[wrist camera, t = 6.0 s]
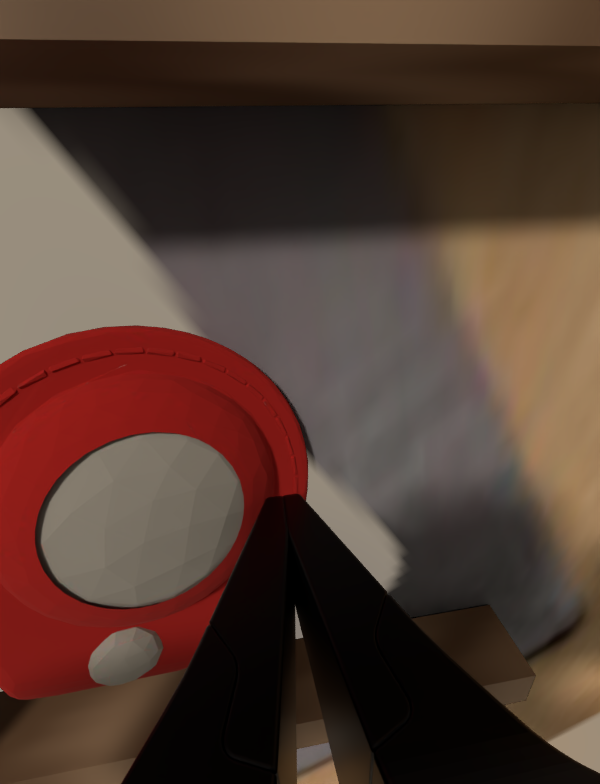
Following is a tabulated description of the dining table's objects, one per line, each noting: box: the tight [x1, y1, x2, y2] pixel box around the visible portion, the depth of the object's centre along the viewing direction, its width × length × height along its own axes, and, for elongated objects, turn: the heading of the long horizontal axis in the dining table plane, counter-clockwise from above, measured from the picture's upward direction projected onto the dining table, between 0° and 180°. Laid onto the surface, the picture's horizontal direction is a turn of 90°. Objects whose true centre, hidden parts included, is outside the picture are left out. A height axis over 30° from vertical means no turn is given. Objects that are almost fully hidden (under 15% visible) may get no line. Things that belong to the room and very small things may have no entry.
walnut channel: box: [0, 0, 600, 784], centre depth 9 cm, size 18×19×2 cm
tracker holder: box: [0, 326, 308, 700], centre depth 8 cm, size 12×4×10 cm
